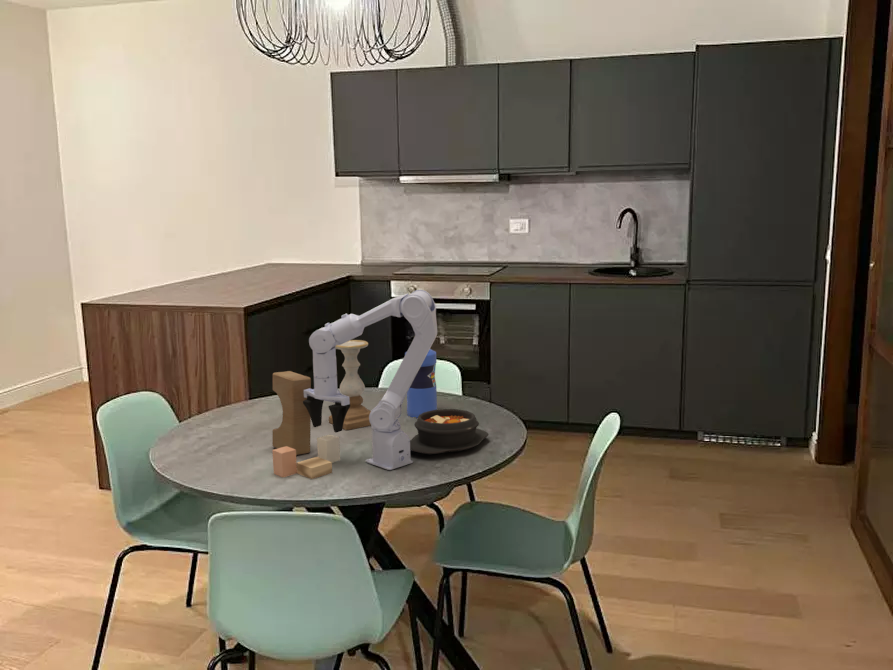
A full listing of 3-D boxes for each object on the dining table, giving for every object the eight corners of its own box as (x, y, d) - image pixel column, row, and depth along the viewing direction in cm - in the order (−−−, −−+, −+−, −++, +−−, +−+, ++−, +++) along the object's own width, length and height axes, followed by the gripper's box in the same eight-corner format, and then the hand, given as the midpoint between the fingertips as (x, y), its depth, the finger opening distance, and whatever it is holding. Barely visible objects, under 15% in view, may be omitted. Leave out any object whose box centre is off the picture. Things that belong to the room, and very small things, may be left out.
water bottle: (439, 410, 249) (437, 330, 245) (435, 418, 240) (433, 335, 236) (409, 409, 250) (407, 330, 246) (404, 418, 241) (401, 335, 237)
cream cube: (340, 460, 204) (339, 437, 203) (327, 464, 202) (326, 441, 201) (330, 456, 207) (329, 434, 206) (318, 460, 204) (316, 437, 203)
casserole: (438, 466, 199) (438, 433, 197) (388, 450, 211) (387, 419, 210) (504, 442, 216) (504, 412, 215) (454, 429, 229) (453, 400, 227)
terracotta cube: (297, 473, 195) (295, 449, 194) (282, 477, 193) (281, 453, 192) (287, 469, 198) (286, 446, 197) (273, 473, 195) (272, 449, 194)
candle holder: (346, 430, 230) (342, 348, 225) (328, 422, 238) (324, 342, 234) (379, 423, 236) (376, 343, 232) (360, 415, 245) (357, 338, 240)
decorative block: (271, 446, 215) (271, 372, 213) (290, 443, 219) (291, 370, 216) (291, 456, 207) (291, 379, 204) (311, 453, 210) (311, 377, 208)
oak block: (332, 473, 195) (331, 462, 195) (311, 480, 191) (311, 468, 191) (317, 468, 200) (317, 456, 199) (297, 474, 195) (296, 462, 195)
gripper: (357, 376, 199) (359, 429, 202) (317, 369, 208) (319, 420, 210) (336, 382, 194) (339, 436, 196) (296, 374, 203) (298, 426, 205)
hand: (327, 428), depth 203 cm, fingers open, 7 cm apart
